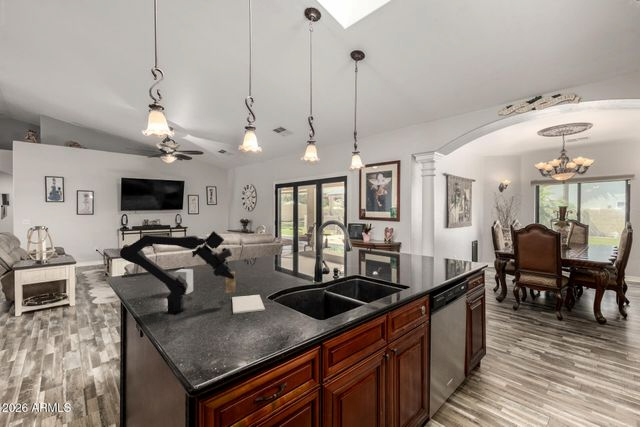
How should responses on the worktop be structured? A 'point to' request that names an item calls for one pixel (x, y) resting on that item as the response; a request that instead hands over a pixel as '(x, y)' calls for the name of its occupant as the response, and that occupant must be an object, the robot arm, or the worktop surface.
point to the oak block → (230, 284)
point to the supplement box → (186, 278)
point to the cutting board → (247, 304)
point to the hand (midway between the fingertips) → (233, 277)
